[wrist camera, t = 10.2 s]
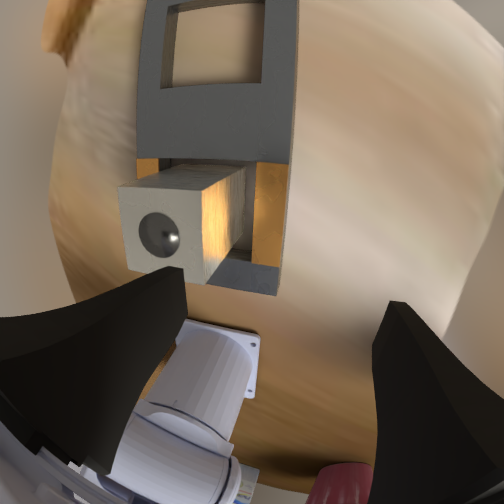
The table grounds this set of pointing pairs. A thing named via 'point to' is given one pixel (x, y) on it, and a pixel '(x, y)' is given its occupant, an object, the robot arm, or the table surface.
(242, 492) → the medicine box
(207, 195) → the grey rectangular block
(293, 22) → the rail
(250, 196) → the table surface
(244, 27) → the table surface
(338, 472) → the plant pot
